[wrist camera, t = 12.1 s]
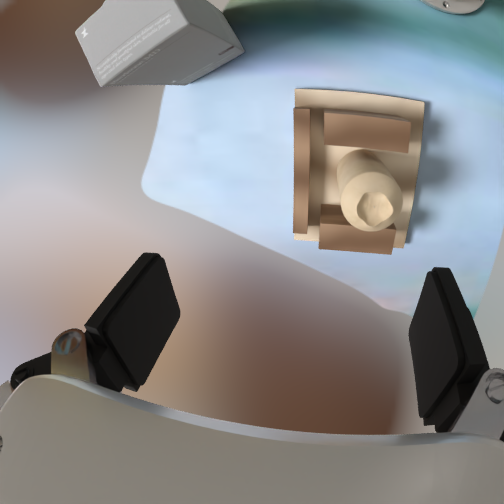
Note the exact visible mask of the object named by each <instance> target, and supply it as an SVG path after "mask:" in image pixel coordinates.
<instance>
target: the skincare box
mask: <svg viewBox="0 0 504 504" xmlns="http://www.w3.org/2000/svg"><path fill="white" fill-rule="evenodd" d="M75 34H76V36H77V38H78V40H79V42H80V45H81V46H82V49H83V51H84V53H85V55H86V57H87V59H88V61H89V64H90V66H91V68H92V70H93V73H94V75H95V77H96V79H97V81H98V83H99V85H100V86H101V87H107V86H121V85H122V86H123V85H187V84H189V83H191V82H193V81H195V80H196V79H198V78H200V77H202V76H204V75H205V74H207V73H209V72H211V71H213V70H215V69H216V68H218V67H220V66H222V65H224V64H225V63H227V62H229V61H231V60H232V59H234V58H236V57H238V56H239V55H241V54H243V53H244V52H245V51H244V49H243V47H242V45H241V43H240V41H239V40H238V38H237V36H236V35H235V33H234V32H233V30H232V28H231V27H230V25H229V23H228V22H227V20H226V18H225V17H224V15H223V14H222V12H221V11H220V10H219V9H217V8H216V7H215V6H214V5H212V4H211V3H209V2H208V1H207V0H106V1H105V2H104V4H103V5H102V7H101V8H100V9H99V10H97V11H96V12H95V13H94V14H93V15H92V16H91V17H90V18H89V19H87V20H86V22H84V23H83V24H82V25H81V26H80V27H79V28H78V29H77V30H76V32H75Z"/></svg>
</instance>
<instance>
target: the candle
mask: <svg viewBox="0 0 504 504" xmlns="http://www.w3.org/2000/svg"><path fill="white" fill-rule="evenodd" d="M337 182H338V188H339V195H340V202H341V208H342V212H343V214H344V216H345V218H346V219H347V221H348V222H349V223H350V224H351V225H353V226H354V227H356V228H358V229H360V230H363V231H379V230H382V229H385V228H387V227H388V226H390V225H391V224H392V223H394V222H395V220H396V219H397V218H398V216H399V215H400V212H401V210H402V206H403V196H402V192H401V189H400V187H399V186H398V184H397V182H396V181H395V179H394V178H393V177H392V175H391V174H390V172H389V171H388V169H387V168H386V166H385V165H384V164H383V162H382V161H381V160H380V159H379V157H378V156H376V155H375V154H374V153H372V152H370V151H367V150H354V151H351V152H349V153H347V154H346V155H345V156H344V157H343V158H342V159H341V160H340V162H339V164H338V167H337Z"/></svg>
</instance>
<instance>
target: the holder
mask: <svg viewBox="0 0 504 504" xmlns="http://www.w3.org/2000/svg"><path fill="white" fill-rule="evenodd" d="M423 119H424V102H421V101H416V100H410V99H405V98H398V97H392V96H385V95H377V94H368V93H359V92H348V91H336V90H318V89H295V108H294V213H293V233H294V240H306V241H319V249H327V250H340V251H353V252H365V253H378V254H390V255H391V254H392V249H393V247H394V248H404V244H405V239H406V235H407V230H408V226H409V221H410V216H411V210H412V205H413V199H414V194H415V188H416V181H417V174H418V167H419V160H420V151H421V142H422V131H423ZM354 150H367V151H370V152H372V153H374V154H375V155H376V156H378V157H379V159H380V160H381V161H382V162H383V164H384V165H385V166H386V168H387V169H388V171H389V172H390V174H391V175H392V177H393V178H394V179H395V181H396V182H397V184H398V186H399V187H400V189H401V192H402V196H403V206H402V210H401V212H400V215H399V216H398V218H397V219H396V220H395V222H394V223H392V224H391V225H390V226H388V227H387V228H385V229H382V230H379V231H363V230H360V229H358V228H356V227H354V226H353V225H351V224H350V223H349V222H348V221H347V219H346V218H345V216H344V214H343V212H342V208H341V202H340V195H339V188H338V182H337V167H338V164H339V162H340V160H341V159H342V158H343V157H344V156H345V155H346V154H347V153H349V152H351V151H354Z"/></svg>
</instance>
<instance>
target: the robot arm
mask: <svg viewBox="0 0 504 504" xmlns="http://www.w3.org/2000/svg"><path fill="white" fill-rule="evenodd" d="M420 1H422V2H423V3H425V4H426V5H428V6H430V7H433V8H435V9H437V10H440V11H443V12H446V13H451V14H466V13H470V12H473V11H475V10H477V9H478V8H479V7H481V6H482V4H483V3H484V1H485V0H420ZM443 5H444V6H445V7H444V6H443ZM179 318H180V308H179V305H178V302H177V299H176V296H175V293H174V290H173V286H172V283H171V280H170V277H169V273H168V270H167V267H166V263H165V260H164V259H163V258H162V257H161V256H160V255H159V254H158V253H143V254H142V255H141V256H140V257H139V258H138V260H137V261H136V262H135V263H134V264H133V265H132V267H131V268H130V269H129V270H128V271H127V273H126V274H125V275H124V276H123V277H122V278H121V280H120V281H119V282H118V283H117V285H116V286H115V287H114V288H113V289H112V291H111V292H110V293H109V294H108V296H107V297H106V298H105V299H104V301H103V302H102V303H101V304H100V306H99V307H98V308H97V310H96V311H95V312H94V313H93V315H92V316H91V317H90V319H89V320H88V321H87V323H86V324H85V325H84V326H85V328H86V329H87V330H86V332H85V333H84V332H83V331H82V330H80V329H77V328H72V329H68V330H66V331H64V332H62V333H61V334H59V335H58V336H57V338H56V339H55V340H54V342H53V344H52V351H51V352H50V353H48V354H45V355H42V356H40V357H38V358H35V359H33V360H30V361H28V362H25V363H23V364H21V365H20V366H18V367H17V368H16V369H15V370H14V372H13V374H12V376H11V381H10V382H9V381H7V382H5V383H3V384H2V385H1V386H0V504H504V370H503V369H499V368H493V369H490V368H489V364H488V361H487V358H486V355H485V351H484V349H483V346H482V342H481V340H480V337H479V334H478V331H477V328H476V326H475V323H474V320H473V318H472V315H471V312H470V310H469V309H468V308H467V306H466V304H465V301H464V299H463V297H462V294H461V292H460V290H459V287H458V285H457V283H456V280H455V278H454V276H453V274H452V272H451V270H450V268H441V267H434V268H433V269H432V271H429V272H428V273H427V275H426V279H425V282H424V286H423V289H422V292H421V295H420V298H419V301H418V304H417V307H416V310H415V313H414V316H413V319H412V322H411V325H410V328H409V341H410V346H411V353H412V360H413V366H414V374H415V382H416V390H417V400H418V411H419V416H420V418H423V420H424V426H427V425H435V431H436V433H424V434H406V435H405V434H404V435H341V434H340V435H339V434H322V433H309V432H297V431H288V430H280V429H272V428H264V427H258V426H251V425H245V424H239V423H233V422H228V421H223V420H218V419H213V418H209V417H204V416H200V415H195V414H191V413H187V412H183V411H179V410H175V409H171V408H168V407H164V406H161V405H157V404H154V403H150V402H147V401H144V400H140V399H137V398H134V397H131V396H128V395H125V394H122V389H123V387H125V388H126V389H129V390H132V391H135V392H137V391H138V389H139V387H140V385H143V384H144V383H145V382H146V380H147V377H148V376H149V374H150V372H151V370H152V368H153V367H154V365H155V363H156V361H157V359H158V357H159V355H160V353H161V352H162V350H163V348H164V346H165V344H166V342H167V340H168V338H169V337H170V335H171V333H172V331H173V329H174V328H175V326H176V324H177V322H178V320H179Z"/></svg>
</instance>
